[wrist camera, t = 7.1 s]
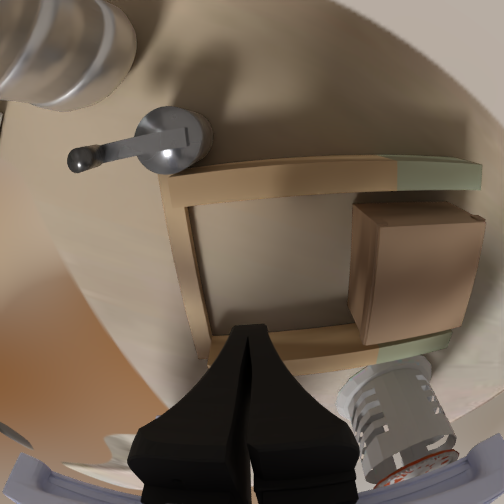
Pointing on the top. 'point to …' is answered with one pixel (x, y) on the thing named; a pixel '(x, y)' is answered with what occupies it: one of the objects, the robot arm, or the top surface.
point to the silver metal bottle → (63, 52)
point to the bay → (297, 184)
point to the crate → (411, 268)
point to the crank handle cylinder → (154, 143)
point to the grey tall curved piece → (396, 420)
